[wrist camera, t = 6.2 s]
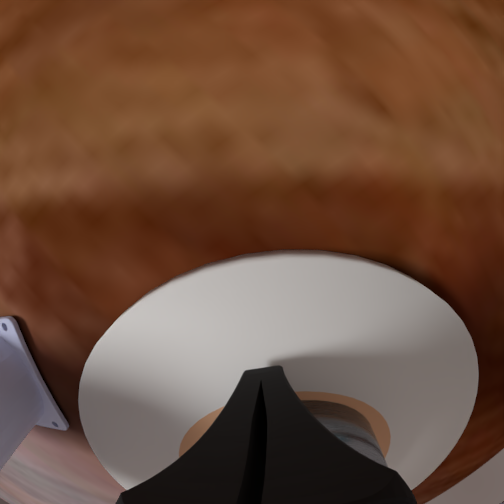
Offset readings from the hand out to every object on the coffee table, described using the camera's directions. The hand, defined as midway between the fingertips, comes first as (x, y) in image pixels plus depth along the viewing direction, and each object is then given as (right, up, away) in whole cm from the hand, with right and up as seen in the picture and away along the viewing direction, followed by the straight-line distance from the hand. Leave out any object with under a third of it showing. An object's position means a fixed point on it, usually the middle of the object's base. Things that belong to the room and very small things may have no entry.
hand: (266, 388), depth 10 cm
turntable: (+1, -6, +4) cm, 7 cm away
